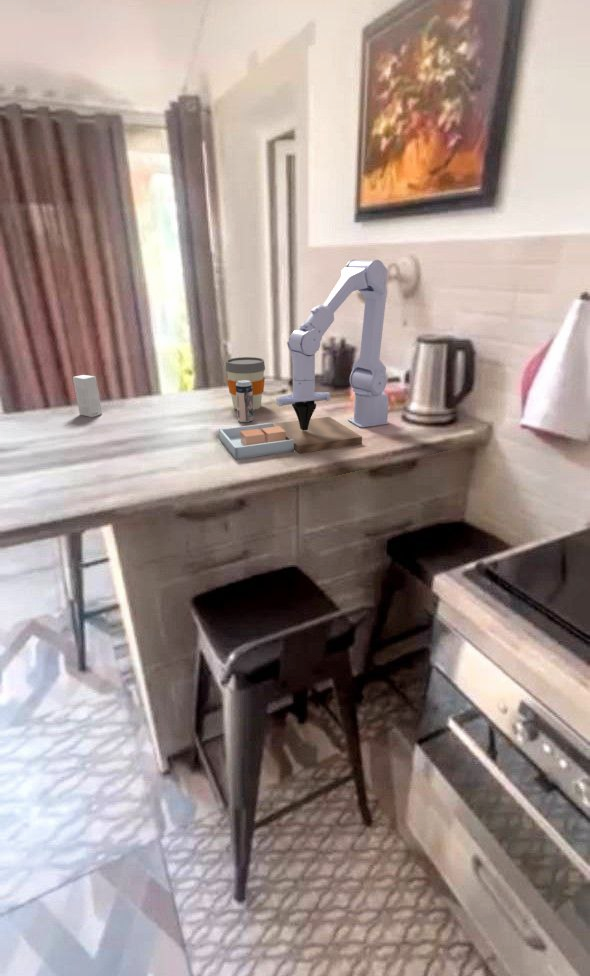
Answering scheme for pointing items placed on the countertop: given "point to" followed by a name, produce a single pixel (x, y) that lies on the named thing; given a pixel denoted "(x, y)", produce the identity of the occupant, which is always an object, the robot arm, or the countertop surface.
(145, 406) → the countertop surface
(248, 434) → the tile
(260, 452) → the tray
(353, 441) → the board
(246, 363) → the reusable coffee cup
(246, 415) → the beer can
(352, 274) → the robot arm
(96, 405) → the skincare box
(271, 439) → the tile
